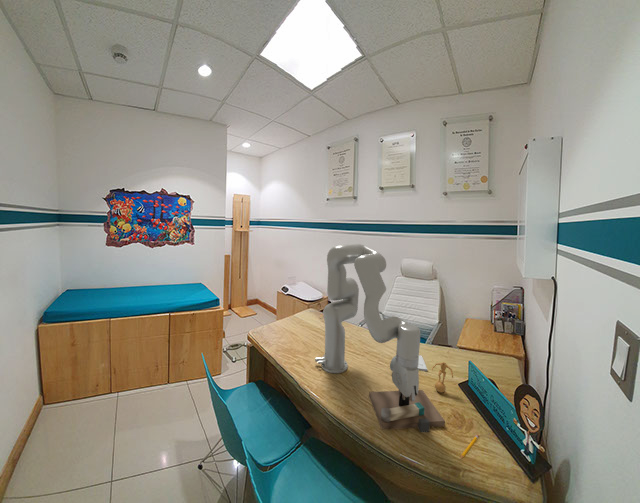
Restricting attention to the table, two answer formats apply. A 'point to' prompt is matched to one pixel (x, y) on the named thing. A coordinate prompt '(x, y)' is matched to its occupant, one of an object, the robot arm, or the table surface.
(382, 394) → the brown wooden board
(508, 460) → the table surface
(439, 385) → the figurine
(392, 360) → the grey cylinder
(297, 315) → the table surface
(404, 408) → the stool leg
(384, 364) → the table surface
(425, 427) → the leg stop
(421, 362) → the external hard drive
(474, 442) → the pencil
